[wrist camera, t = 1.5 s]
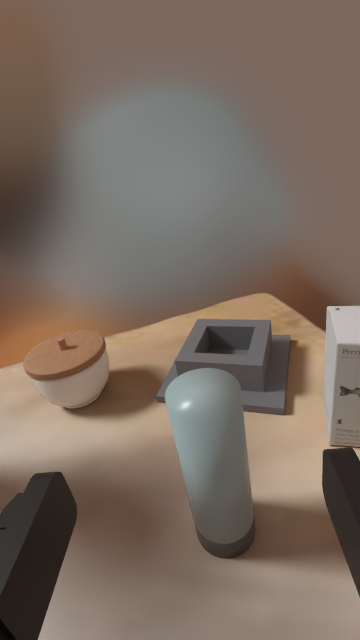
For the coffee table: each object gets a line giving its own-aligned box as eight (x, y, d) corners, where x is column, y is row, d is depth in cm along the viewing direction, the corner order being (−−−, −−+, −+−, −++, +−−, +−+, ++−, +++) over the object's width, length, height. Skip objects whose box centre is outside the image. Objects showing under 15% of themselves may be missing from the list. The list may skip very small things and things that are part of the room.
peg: (189, 549, 28) (153, 413, 21) (204, 494, 32) (178, 366, 25) (250, 565, 26) (232, 423, 19) (258, 505, 30) (246, 370, 24)
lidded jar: (38, 391, 51) (14, 338, 47) (105, 363, 55) (88, 312, 51) (50, 434, 43) (22, 374, 38) (128, 397, 47) (111, 339, 42)
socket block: (157, 401, 45) (149, 371, 43) (191, 337, 58) (187, 311, 56) (284, 415, 39) (282, 380, 37) (290, 340, 52) (290, 312, 50)
